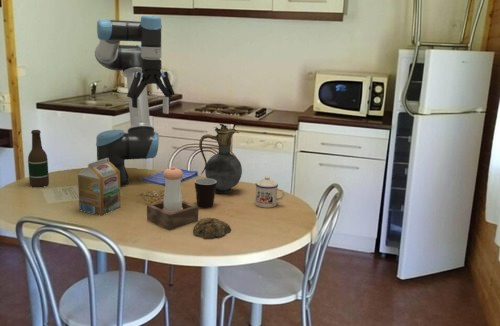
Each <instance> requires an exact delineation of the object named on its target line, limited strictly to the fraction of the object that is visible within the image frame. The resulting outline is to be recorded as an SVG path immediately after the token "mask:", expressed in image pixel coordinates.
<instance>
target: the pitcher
mask: <svg viewBox="0 0 500 326" xmlns="http://www.w3.org/2000/svg"><path fill="white" fill-rule="evenodd" d="M219 126H221V127H220V128H218V126H215V127H213V128H215V129H214V131H215V133H216V135H212V134H206V133H205V134H204V135H202V136H201V138H200V139H199V144H198V147H199V150H200V153H201V155H202V158H203V160H204V165H205V166H204V168H203V170H202V172H201V173H200V175H203V173H204V172H205V178H209V179H214V180H216V181H217V183H216V190H215V194H216V193H217V194H222V195H225V194H226V195H228V194H231V193H232V192H233V189H232V188H233V187H235V186H237V184H239V182H240V180H241V178H242V175H243V167H242V164H241V161H240V160H239V159H238V157H237V156H235V155H233V154H232V153H231V145H232V136H233V135H234V134H235V133H237V134H240V131H238V130H236V129H235V128H228V127H229V126H228V125H226V124H225V125H224V124H223V123H219ZM205 139H211V140H214V141H216V142H217V145H218V152H217V153H216V154H214V155H211V156H210V158H209V159H208V160H207V159H206V156H205V153H204V151H203V150H204V148H203V141H204V140H205Z"/></svg>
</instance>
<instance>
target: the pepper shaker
mask: <svg viewBox="0 0 500 326" xmlns="http://www.w3.org/2000/svg"><path fill="white" fill-rule="evenodd" d="M178 168H179V167H178ZM178 168H177V167H175V166H174V165H173V166H170V167H168V168H166V169H164V170H163V171H164V172H163V177H164V178H165V186H164V187H165V188H164V195H163V201H164V208H163V210H164V211H167V212H169V213H172V212H176V211H179V210H183V208H182V201H183V196H182V195H183V194H182V190H181V189H182V188H181V183H182V182H181V178H182V176H183V172H182V171H181V170H180V169H181V168H179V169H178Z"/></svg>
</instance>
